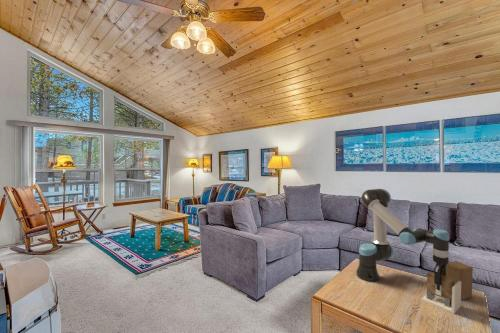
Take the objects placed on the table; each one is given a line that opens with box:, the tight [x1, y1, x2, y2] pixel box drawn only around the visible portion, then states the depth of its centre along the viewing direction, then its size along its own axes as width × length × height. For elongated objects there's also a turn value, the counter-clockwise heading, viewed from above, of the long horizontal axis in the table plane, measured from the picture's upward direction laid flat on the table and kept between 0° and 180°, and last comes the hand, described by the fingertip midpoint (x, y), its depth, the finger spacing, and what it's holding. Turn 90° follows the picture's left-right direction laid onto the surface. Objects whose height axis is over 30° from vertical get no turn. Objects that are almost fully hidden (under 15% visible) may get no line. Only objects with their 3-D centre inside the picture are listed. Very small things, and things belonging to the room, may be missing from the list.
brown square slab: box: [426, 271, 454, 301], centre depth 147 cm, size 12×4×12 cm, turn 35°
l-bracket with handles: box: [420, 281, 462, 315], centre depth 147 cm, size 16×12×15 cm
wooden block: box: [446, 260, 474, 301], centre depth 155 cm, size 10×10×20 cm
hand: (439, 293), depth 147 cm, fingers closed on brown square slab, 4 cm apart
